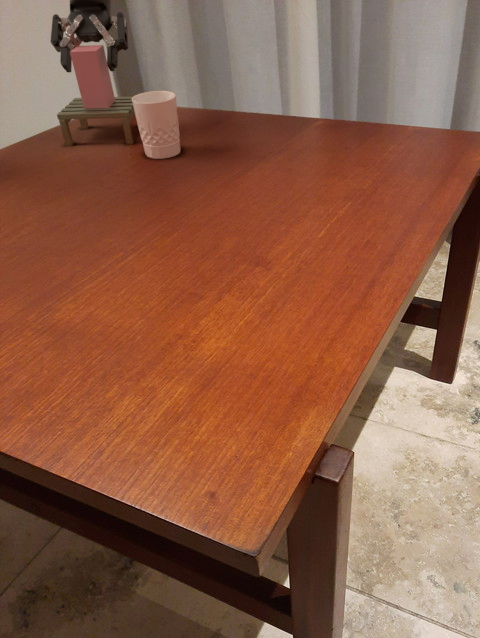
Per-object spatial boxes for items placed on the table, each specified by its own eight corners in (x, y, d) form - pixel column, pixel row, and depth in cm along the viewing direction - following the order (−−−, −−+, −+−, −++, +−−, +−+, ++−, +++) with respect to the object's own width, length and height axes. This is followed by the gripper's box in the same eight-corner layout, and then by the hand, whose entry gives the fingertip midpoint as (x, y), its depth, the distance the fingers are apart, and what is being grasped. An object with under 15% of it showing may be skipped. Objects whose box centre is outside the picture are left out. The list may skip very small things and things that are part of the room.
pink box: (84, 108, 110) (69, 51, 103) (91, 101, 113) (77, 45, 107) (108, 108, 109) (96, 50, 103) (115, 100, 113) (103, 45, 106)
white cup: (170, 143, 110) (161, 88, 104) (191, 152, 106) (183, 96, 99) (135, 153, 107) (123, 97, 100) (155, 163, 102) (145, 105, 95)
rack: (65, 146, 111) (56, 114, 107) (82, 127, 120) (74, 97, 116) (133, 144, 110) (127, 112, 107) (146, 125, 119) (140, 95, 115)
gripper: (45, -25, 103) (43, 58, 102) (120, -28, 103) (119, 55, 102) (63, 4, 111) (61, 82, 110) (133, 2, 110) (131, 80, 109)
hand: (89, 69), depth 106 cm, fingers open, 8 cm apart
